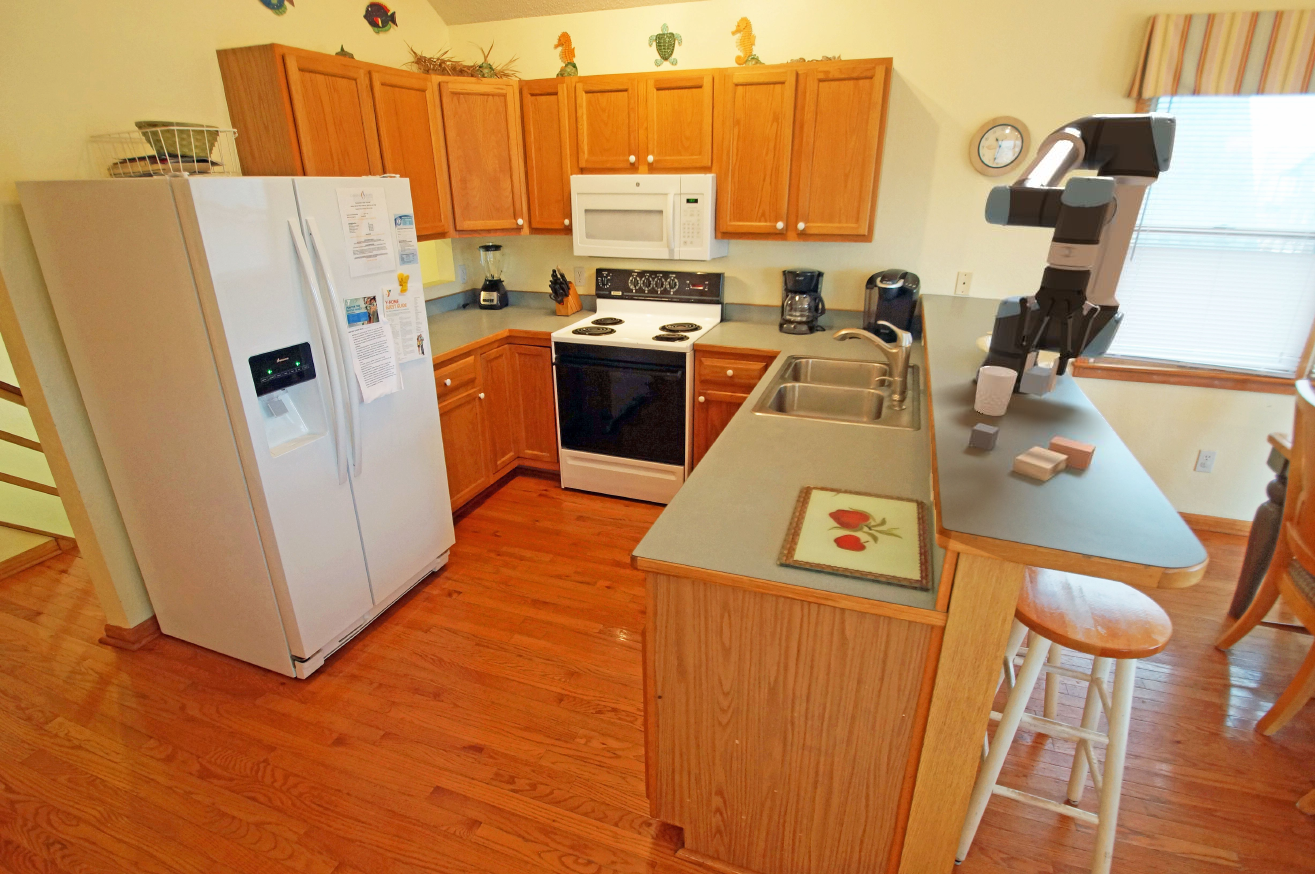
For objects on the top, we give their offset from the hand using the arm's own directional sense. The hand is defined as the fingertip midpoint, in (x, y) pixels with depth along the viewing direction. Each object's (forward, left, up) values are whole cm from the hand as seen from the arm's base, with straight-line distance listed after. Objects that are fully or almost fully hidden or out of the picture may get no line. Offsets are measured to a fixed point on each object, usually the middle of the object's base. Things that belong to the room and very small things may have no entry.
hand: (1037, 387), depth 128 cm
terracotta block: (-1, +8, -14) cm, 16 cm away
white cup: (-19, -13, -14) cm, 27 cm away
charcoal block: (+3, -7, -14) cm, 16 cm away
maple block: (+7, +5, -14) cm, 17 cm away
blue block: (0, 0, -1) cm, 1 cm away
